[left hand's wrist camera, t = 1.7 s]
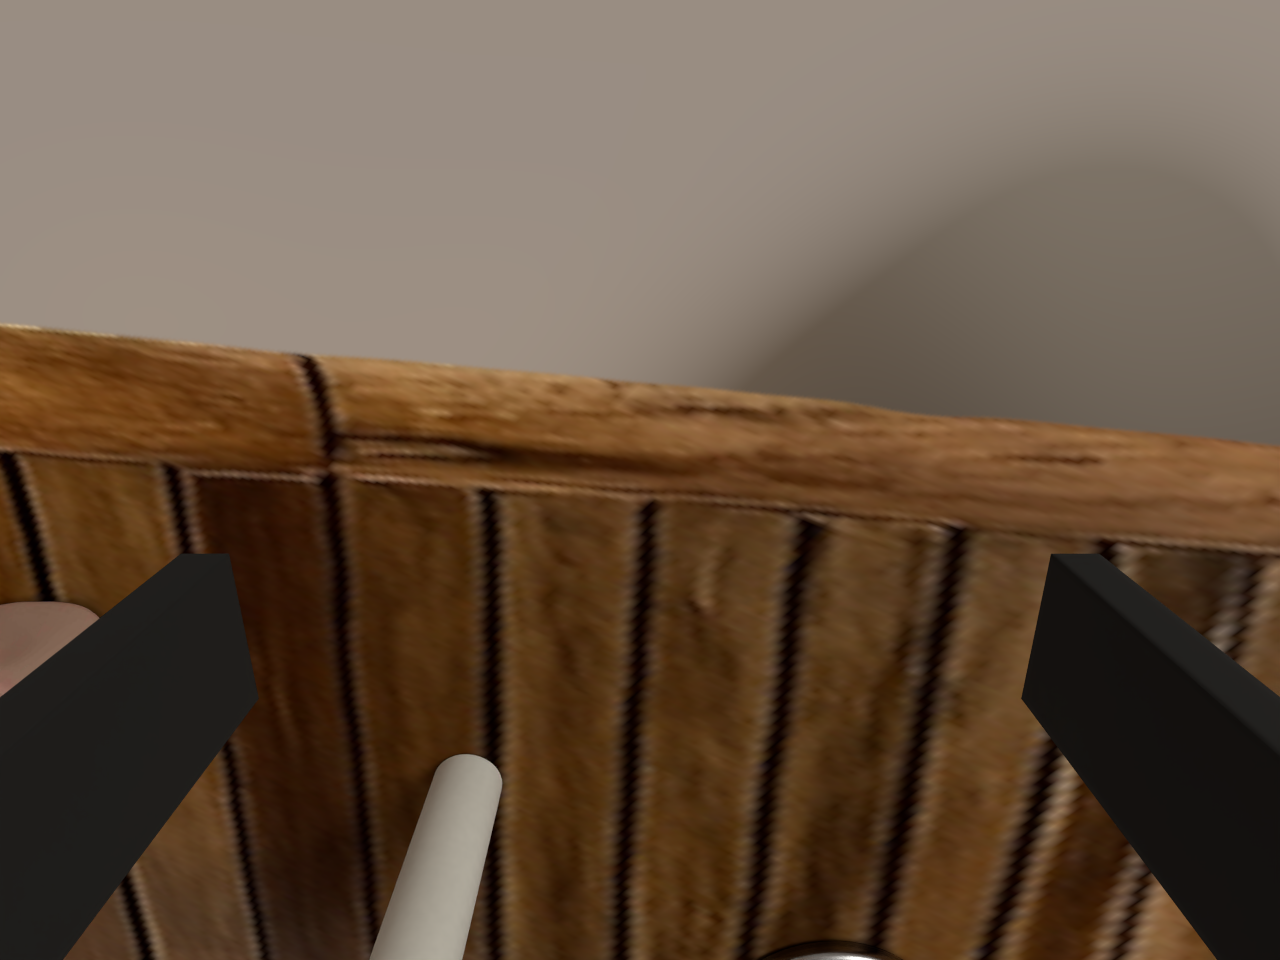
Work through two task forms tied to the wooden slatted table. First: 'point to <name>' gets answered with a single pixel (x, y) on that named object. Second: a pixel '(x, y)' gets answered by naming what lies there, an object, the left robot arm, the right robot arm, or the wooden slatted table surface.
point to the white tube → (442, 865)
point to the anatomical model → (36, 635)
